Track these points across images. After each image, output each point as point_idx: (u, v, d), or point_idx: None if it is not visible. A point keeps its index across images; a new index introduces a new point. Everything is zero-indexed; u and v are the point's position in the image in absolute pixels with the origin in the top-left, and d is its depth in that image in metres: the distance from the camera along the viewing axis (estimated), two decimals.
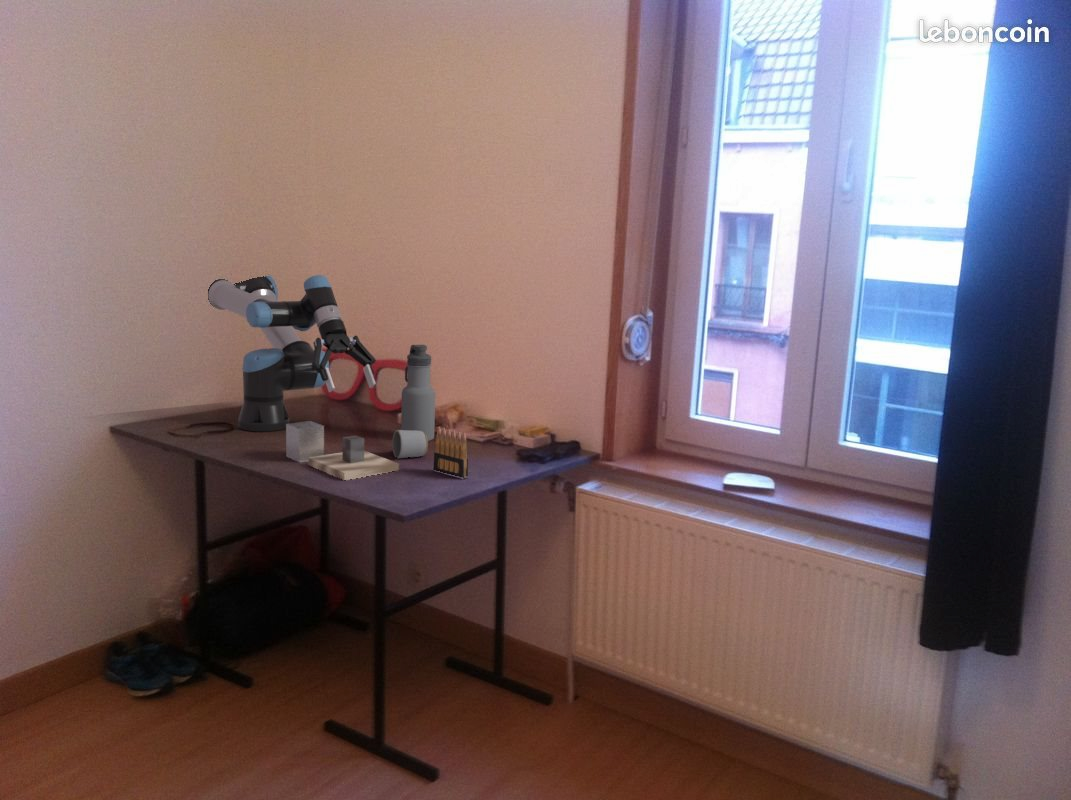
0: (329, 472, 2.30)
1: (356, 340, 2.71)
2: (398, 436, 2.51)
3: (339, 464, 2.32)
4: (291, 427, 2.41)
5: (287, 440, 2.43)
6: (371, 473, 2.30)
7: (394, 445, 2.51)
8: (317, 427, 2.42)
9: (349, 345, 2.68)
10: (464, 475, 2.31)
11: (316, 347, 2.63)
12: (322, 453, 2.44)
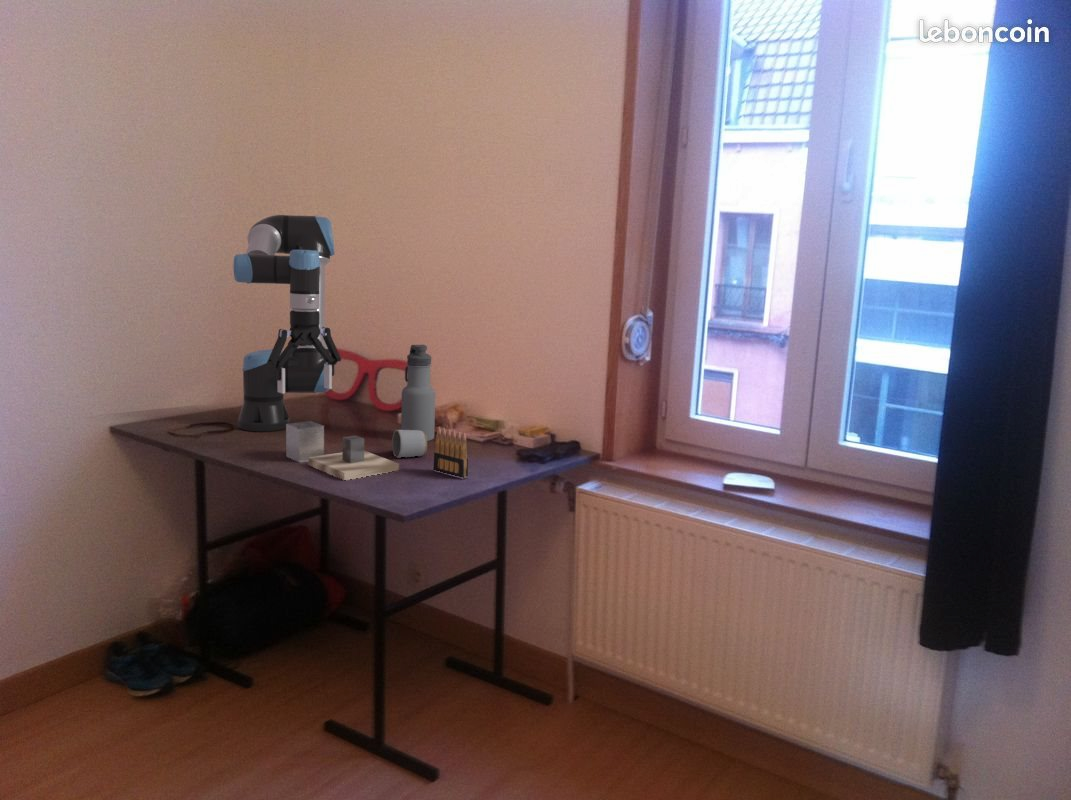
0: (329, 472, 2.30)
1: (327, 334, 2.42)
2: (398, 436, 2.52)
3: (339, 464, 2.32)
4: (291, 427, 2.41)
5: (287, 440, 2.43)
6: (371, 473, 2.30)
7: (394, 445, 2.52)
8: (317, 427, 2.42)
9: (317, 341, 2.39)
10: (464, 475, 2.31)
11: (279, 340, 2.34)
12: (322, 453, 2.44)
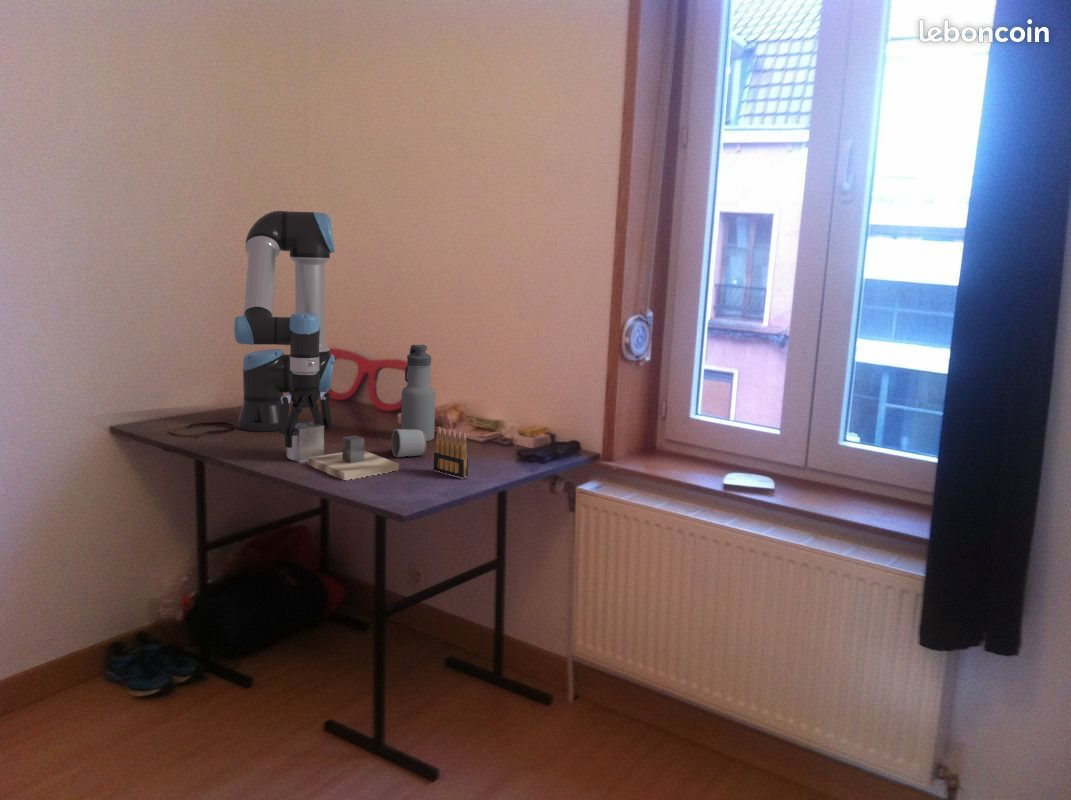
0: (329, 472, 2.30)
1: (325, 398, 2.45)
2: (397, 435, 2.52)
3: (339, 464, 2.32)
4: None
5: None
6: (371, 473, 2.30)
7: (393, 444, 2.52)
8: (317, 427, 2.42)
9: (315, 404, 2.42)
10: (464, 475, 2.31)
11: (283, 408, 2.37)
12: (322, 453, 2.44)
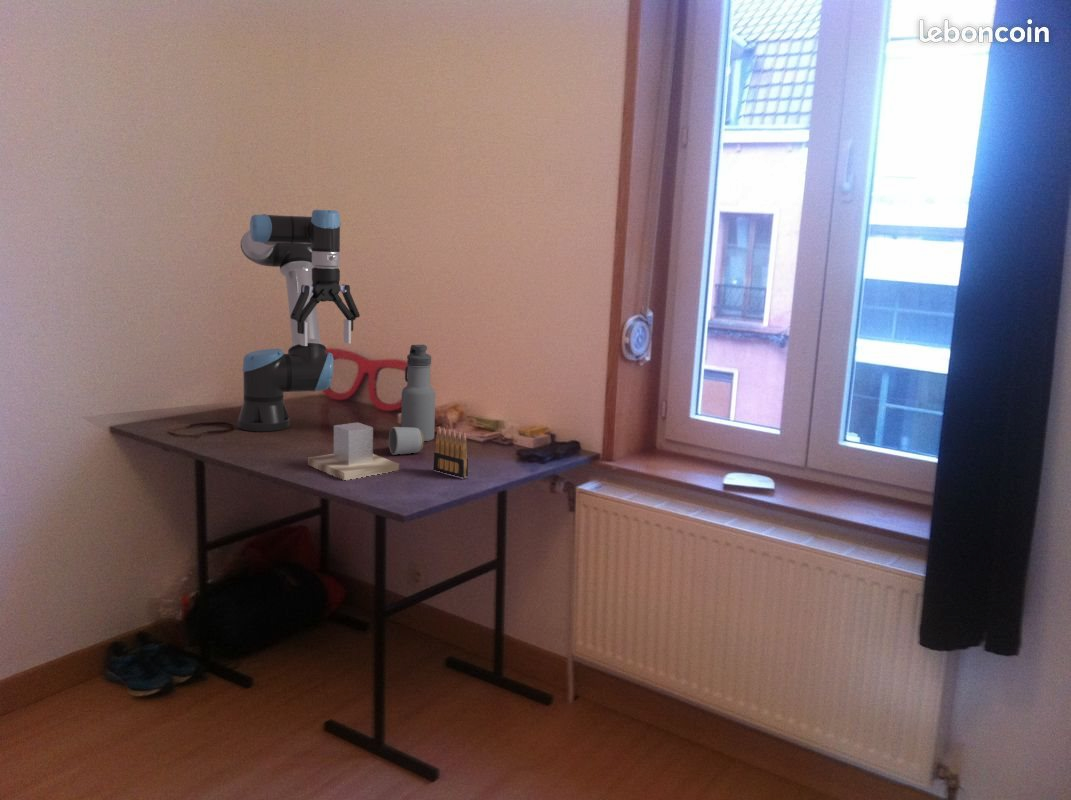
0: (329, 472, 2.30)
1: (347, 291, 2.55)
2: (394, 433, 2.55)
3: (339, 464, 2.32)
4: (339, 429, 2.33)
5: (335, 442, 2.35)
6: (371, 473, 2.30)
7: (390, 442, 2.55)
8: (366, 429, 2.33)
9: (337, 297, 2.53)
10: (464, 475, 2.31)
11: (302, 295, 2.47)
12: (371, 456, 2.36)
